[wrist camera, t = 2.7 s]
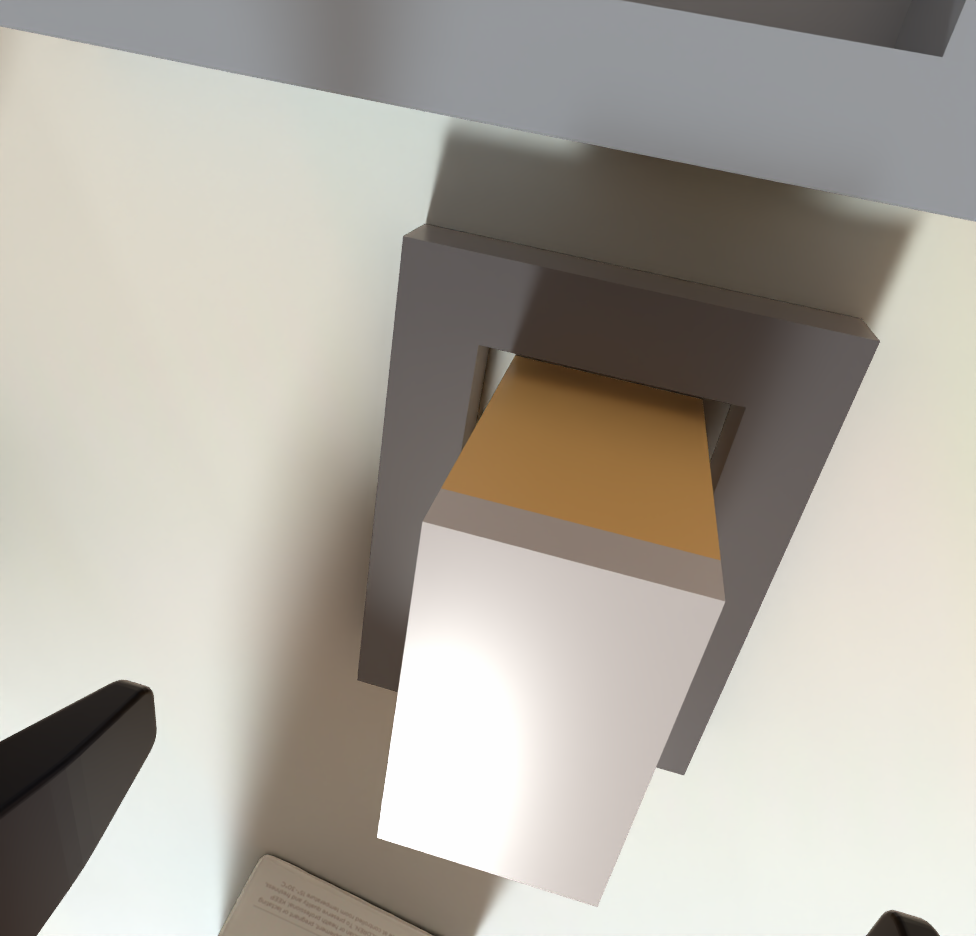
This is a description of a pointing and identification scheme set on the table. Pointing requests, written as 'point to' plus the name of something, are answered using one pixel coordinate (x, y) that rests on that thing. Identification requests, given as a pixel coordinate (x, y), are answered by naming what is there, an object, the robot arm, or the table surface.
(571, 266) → the holder
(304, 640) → the table surface
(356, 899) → the supplement box
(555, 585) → the white and orange block
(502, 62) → the tray
